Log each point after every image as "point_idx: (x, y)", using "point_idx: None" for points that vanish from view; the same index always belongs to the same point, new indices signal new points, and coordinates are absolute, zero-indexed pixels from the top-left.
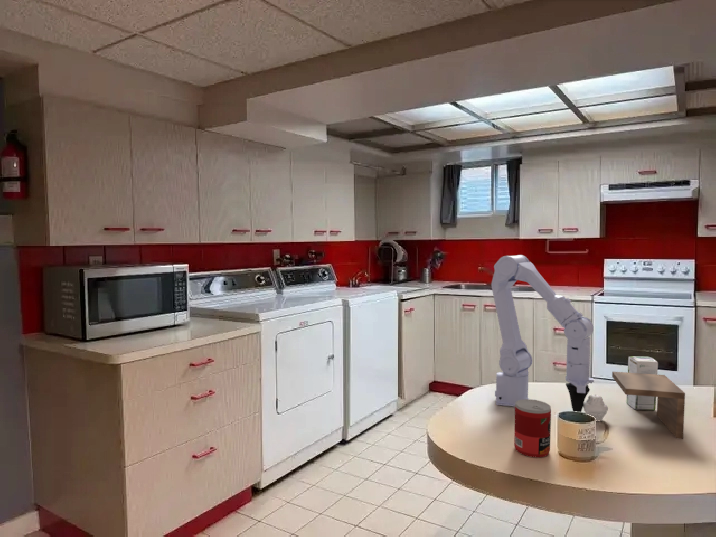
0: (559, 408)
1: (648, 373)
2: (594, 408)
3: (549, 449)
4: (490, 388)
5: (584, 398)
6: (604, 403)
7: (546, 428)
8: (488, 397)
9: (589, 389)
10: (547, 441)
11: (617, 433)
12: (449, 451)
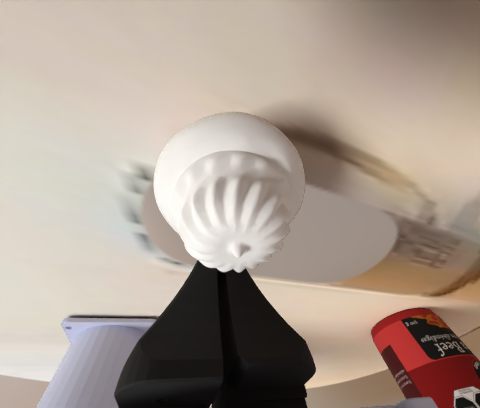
0: (119, 255)
1: None
2: (292, 219)
3: (441, 319)
4: (7, 368)
5: (260, 293)
6: (247, 150)
7: None
8: None
9: (304, 363)
10: (464, 344)
11: (395, 120)
12: (362, 376)
